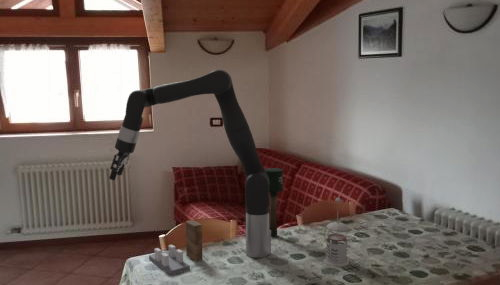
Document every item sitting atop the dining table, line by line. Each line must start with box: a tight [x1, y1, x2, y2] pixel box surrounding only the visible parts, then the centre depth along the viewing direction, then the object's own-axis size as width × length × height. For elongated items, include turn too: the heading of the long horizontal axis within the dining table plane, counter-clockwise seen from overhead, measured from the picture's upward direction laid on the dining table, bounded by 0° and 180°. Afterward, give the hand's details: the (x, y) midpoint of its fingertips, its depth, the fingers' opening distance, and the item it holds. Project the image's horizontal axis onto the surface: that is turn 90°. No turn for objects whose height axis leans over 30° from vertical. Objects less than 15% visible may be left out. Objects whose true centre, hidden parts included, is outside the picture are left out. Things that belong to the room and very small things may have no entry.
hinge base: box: [148, 244, 191, 276], centre depth 172 cm, size 8×18×6 cm, turn 36°
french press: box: [323, 197, 350, 267], centre depth 173 cm, size 10×12×25 cm
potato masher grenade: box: [264, 167, 284, 238], centre depth 200 cm, size 8×9×30 cm
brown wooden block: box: [185, 219, 203, 262], centre depth 177 cm, size 3×7×14 cm, turn 36°
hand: (115, 177), depth 180 cm, fingers open, 8 cm apart
